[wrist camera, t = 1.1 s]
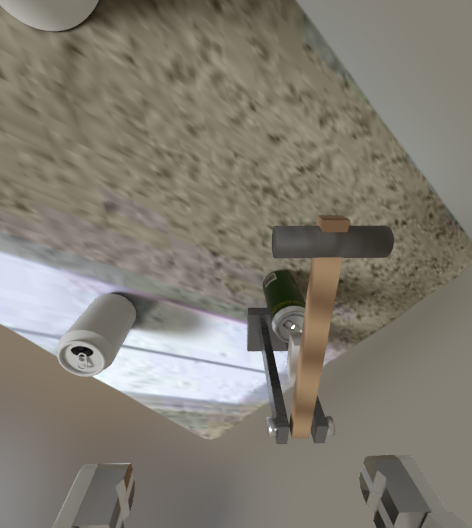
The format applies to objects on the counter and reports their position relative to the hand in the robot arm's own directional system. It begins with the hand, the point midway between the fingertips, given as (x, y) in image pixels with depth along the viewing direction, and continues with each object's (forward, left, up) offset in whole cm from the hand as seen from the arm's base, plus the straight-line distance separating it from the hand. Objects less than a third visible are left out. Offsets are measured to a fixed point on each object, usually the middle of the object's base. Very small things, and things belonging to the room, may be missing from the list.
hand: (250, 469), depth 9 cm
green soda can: (+11, +7, -34) cm, 36 cm away
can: (+16, -21, -34) cm, 42 cm away
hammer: (+8, +8, -17) cm, 20 cm away
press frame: (+20, +7, -33) cm, 40 cm away
